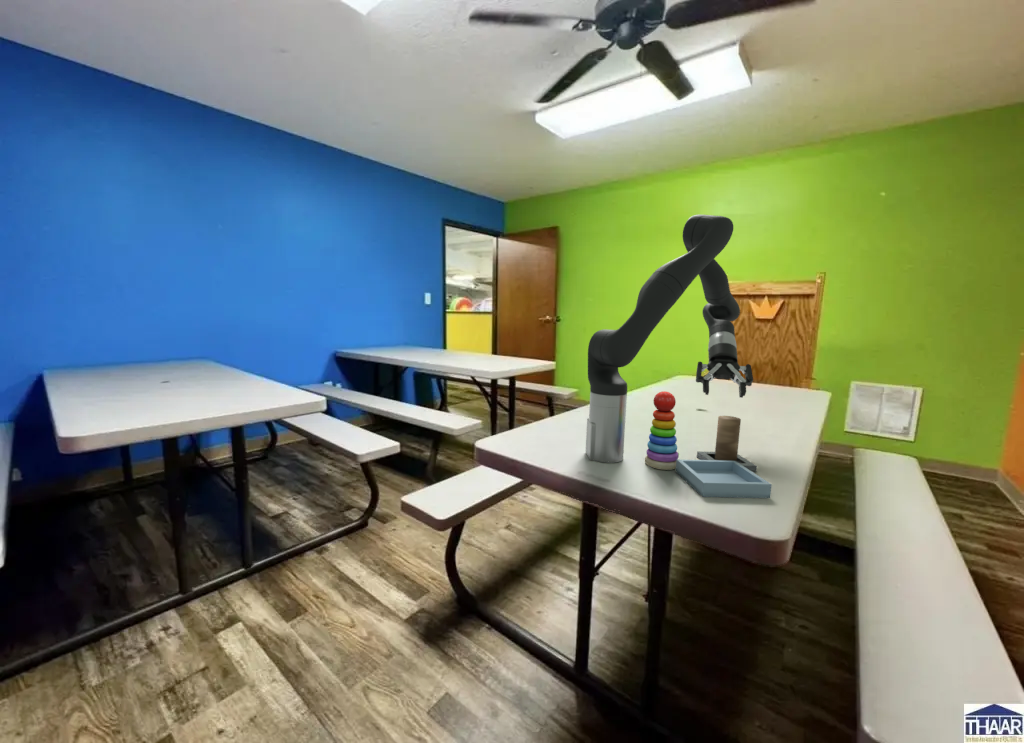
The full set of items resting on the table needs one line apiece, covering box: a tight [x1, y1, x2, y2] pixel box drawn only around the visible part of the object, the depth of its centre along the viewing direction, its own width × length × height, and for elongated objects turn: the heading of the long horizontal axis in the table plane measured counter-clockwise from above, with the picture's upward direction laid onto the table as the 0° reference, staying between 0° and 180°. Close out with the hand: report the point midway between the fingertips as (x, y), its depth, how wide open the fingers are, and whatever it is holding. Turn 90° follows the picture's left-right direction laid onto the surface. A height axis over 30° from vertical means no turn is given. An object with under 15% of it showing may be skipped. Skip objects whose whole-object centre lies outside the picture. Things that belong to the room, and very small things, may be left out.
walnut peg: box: [714, 415, 742, 462], centre depth 103 cm, size 5×5×12 cm
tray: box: [675, 458, 772, 499], centre depth 91 cm, size 14×14×3 cm
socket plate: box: [696, 451, 758, 473], centre depth 104 cm, size 10×10×2 cm
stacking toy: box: [644, 391, 680, 471], centre depth 101 cm, size 8×8×19 cm
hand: (724, 394), depth 112 cm, fingers open, 8 cm apart
